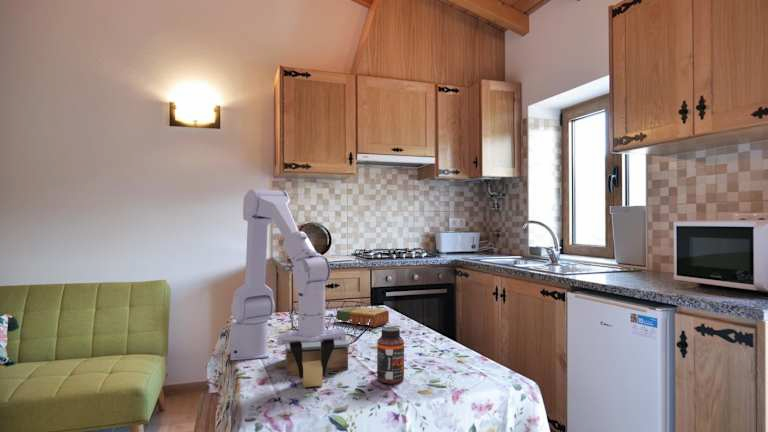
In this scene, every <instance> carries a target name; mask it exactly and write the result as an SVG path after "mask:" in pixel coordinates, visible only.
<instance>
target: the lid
mask: <svg viewBox="0 0 768 432" xmlns="http://www.w3.org/2000/svg"><path fill="white" fill-rule="evenodd" d="M301 344H302V349H303V350H312V349H321V342H310V343H301ZM334 344H335V346H334V348H337V347H347V348H348V347H350V343H349V342H348V341H347V340H346V341H341V340H338V341H334ZM284 345H285V346H286V351H291V349H290V344H284ZM285 346H284V347H285Z"/></svg>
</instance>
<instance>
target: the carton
mask: <svg viewBox="0 0 768 432" xmlns="http://www.w3.org/2000/svg"><path fill="white" fill-rule="evenodd" d="M389 316H390V313H389V310H388V309H378V308H377V309H376V308H367V307H359V306H358V307H356V306H350V307H349V306H348V307H345V308H341V309H337V310H336V320H337V319H338V320H342V321H348V320H349V319H350V318H351V319H352V321H351V324H350V325H357V324H358V323H359V322H360V325H359V326H365V325H366V323H367V322H368V321H369V319H370V322H369V326H368V327H373V328H375V327H378V326H382V325H384V324H387V323H389V322H390V317H389ZM365 327H366V326H365Z"/></svg>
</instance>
